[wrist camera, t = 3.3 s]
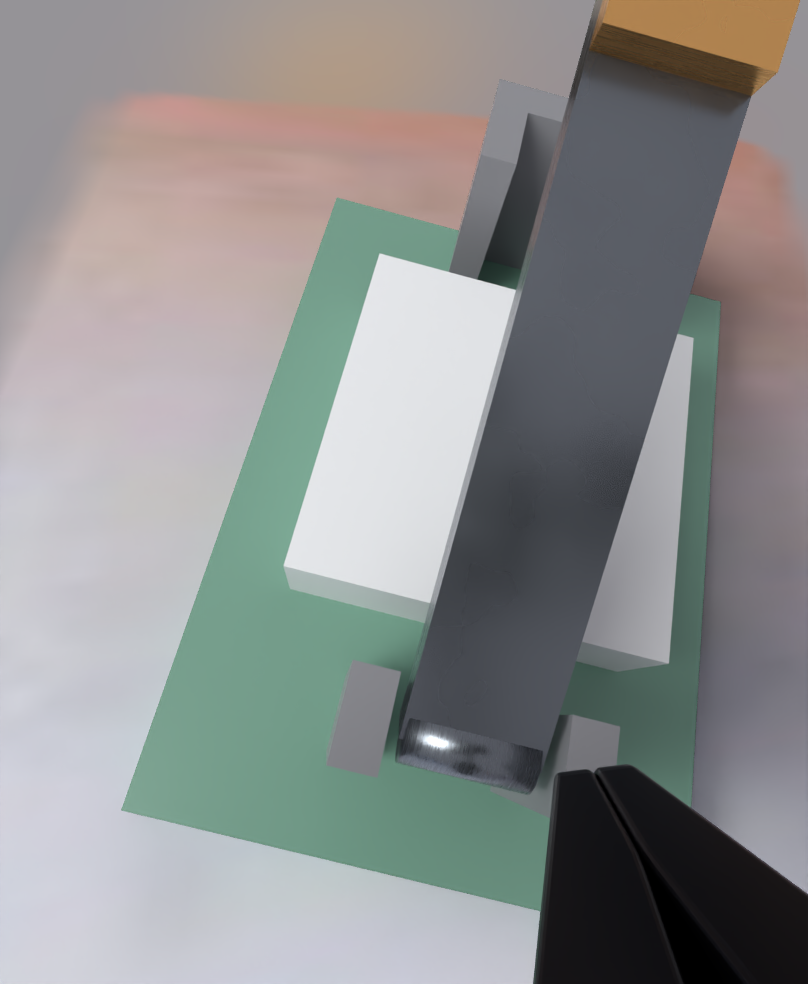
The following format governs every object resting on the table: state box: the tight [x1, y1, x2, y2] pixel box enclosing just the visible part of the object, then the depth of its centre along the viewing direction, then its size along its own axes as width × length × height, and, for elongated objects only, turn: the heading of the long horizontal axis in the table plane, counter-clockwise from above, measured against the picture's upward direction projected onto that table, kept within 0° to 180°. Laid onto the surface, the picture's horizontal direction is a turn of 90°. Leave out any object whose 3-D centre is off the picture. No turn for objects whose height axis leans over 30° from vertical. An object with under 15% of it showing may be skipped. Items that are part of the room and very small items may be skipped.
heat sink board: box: [121, 79, 721, 911], centre depth 18 cm, size 21×15×8 cm
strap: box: [395, 0, 800, 795], centre depth 12 cm, size 17×3×2 cm, turn 167°
